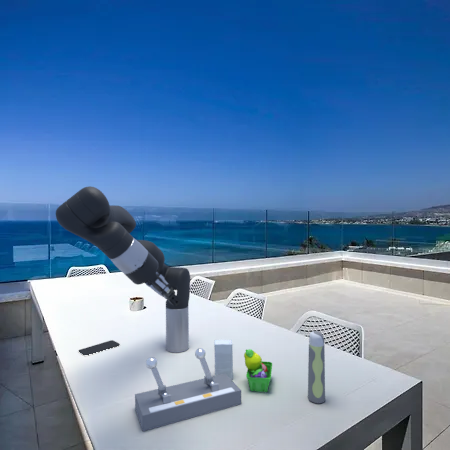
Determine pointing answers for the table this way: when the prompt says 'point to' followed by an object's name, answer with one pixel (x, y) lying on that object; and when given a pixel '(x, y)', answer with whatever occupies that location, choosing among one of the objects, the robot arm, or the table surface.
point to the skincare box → (223, 358)
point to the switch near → (156, 374)
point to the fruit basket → (257, 371)
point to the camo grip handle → (316, 368)
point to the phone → (99, 347)
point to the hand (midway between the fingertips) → (177, 303)
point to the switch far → (204, 365)
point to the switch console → (185, 401)
